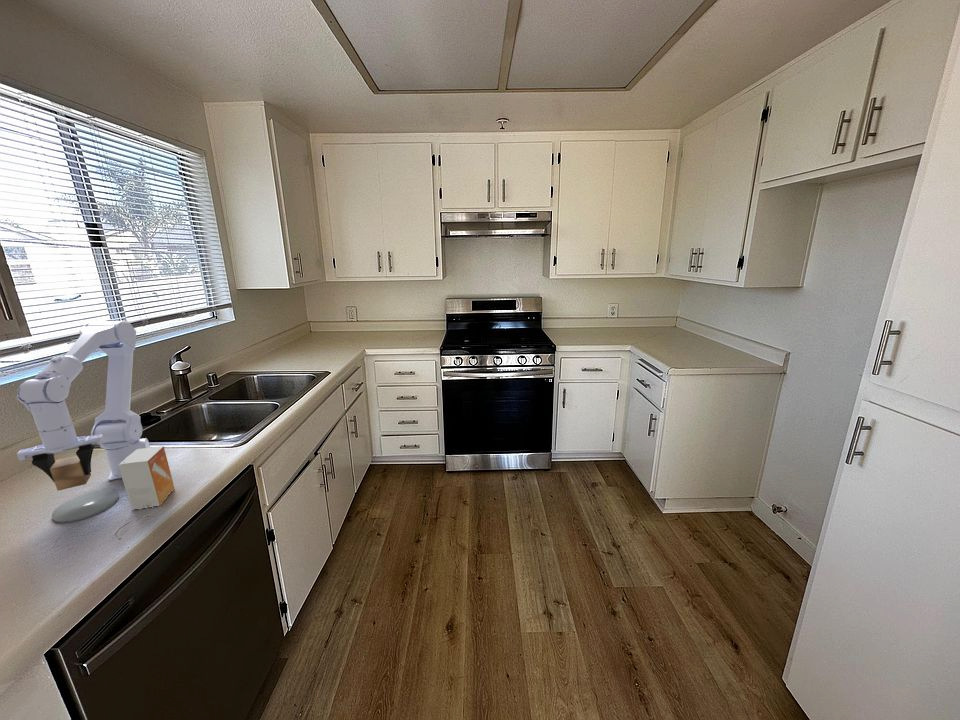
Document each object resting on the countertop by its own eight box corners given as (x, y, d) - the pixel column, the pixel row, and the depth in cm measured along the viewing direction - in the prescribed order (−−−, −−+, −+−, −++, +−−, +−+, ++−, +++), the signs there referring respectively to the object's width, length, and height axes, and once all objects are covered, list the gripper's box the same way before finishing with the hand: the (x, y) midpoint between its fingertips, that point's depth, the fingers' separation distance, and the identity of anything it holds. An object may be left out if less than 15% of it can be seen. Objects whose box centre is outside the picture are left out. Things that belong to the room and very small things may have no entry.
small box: (160, 506, 99) (147, 461, 95) (131, 511, 97) (116, 464, 94) (175, 488, 107) (164, 445, 103) (148, 492, 105) (135, 448, 101)
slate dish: (122, 487, 107) (121, 484, 107) (113, 510, 98) (112, 507, 98) (61, 502, 101) (60, 499, 101) (45, 529, 92) (44, 525, 91)
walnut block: (91, 474, 101) (84, 454, 100) (85, 484, 97) (78, 462, 96) (64, 481, 99) (56, 459, 97) (57, 490, 95) (49, 468, 93)
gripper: (3, 441, 87) (24, 494, 91) (92, 425, 94) (108, 474, 98) (17, 429, 93) (36, 480, 96) (99, 415, 100) (114, 462, 104)
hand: (73, 476), depth 98 cm, fingers closed on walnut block, 5 cm apart
